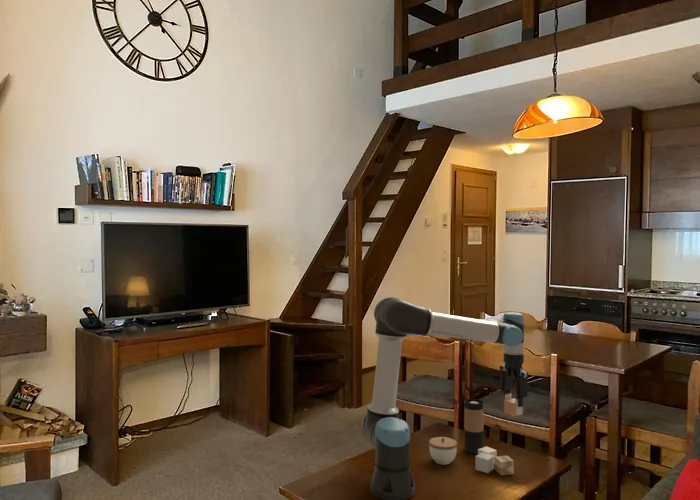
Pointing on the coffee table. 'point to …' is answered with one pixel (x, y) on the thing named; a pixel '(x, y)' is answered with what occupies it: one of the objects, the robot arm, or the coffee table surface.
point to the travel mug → (473, 425)
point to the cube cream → (488, 451)
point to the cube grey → (484, 462)
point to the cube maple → (504, 465)
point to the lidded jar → (443, 449)
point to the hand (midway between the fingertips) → (513, 412)
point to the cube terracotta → (510, 407)
